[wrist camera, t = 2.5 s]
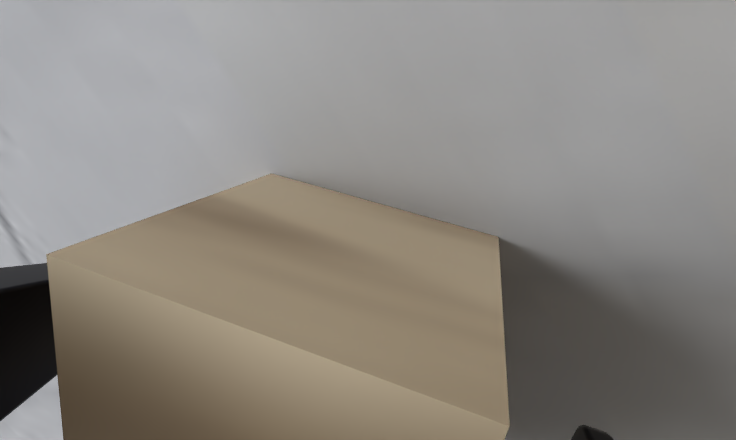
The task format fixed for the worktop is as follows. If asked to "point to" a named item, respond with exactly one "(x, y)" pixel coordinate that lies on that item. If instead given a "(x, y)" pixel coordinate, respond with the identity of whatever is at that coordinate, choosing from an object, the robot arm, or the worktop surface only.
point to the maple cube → (281, 323)
